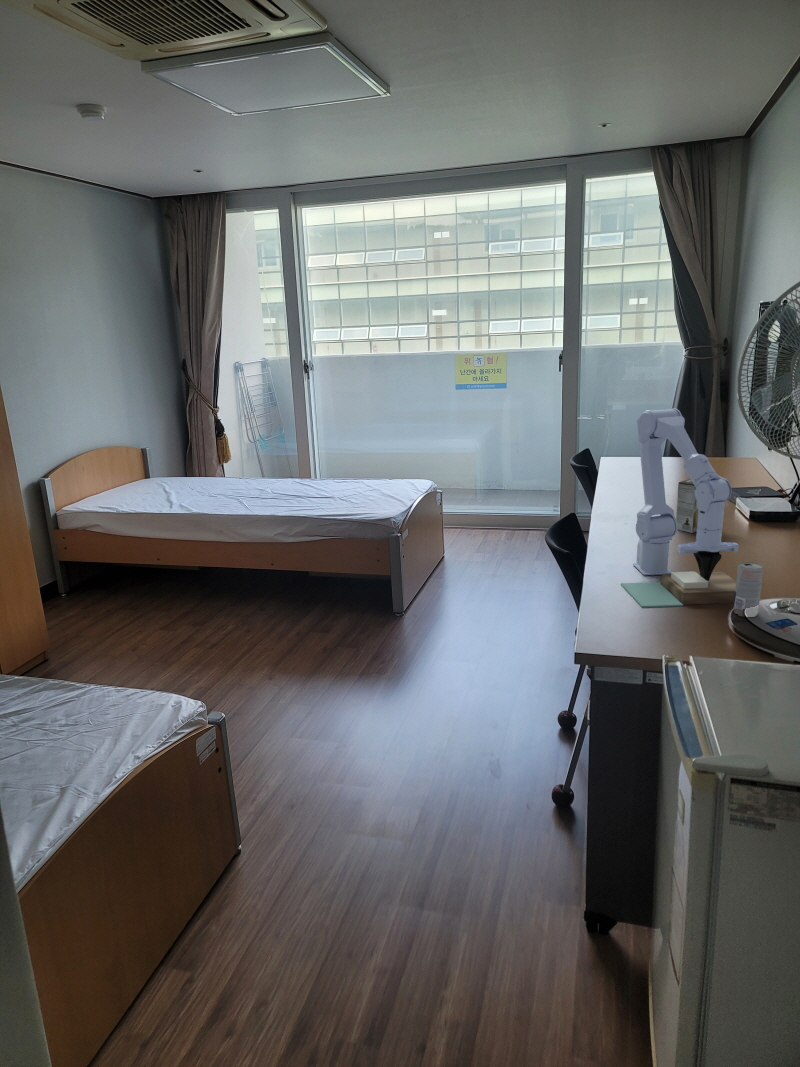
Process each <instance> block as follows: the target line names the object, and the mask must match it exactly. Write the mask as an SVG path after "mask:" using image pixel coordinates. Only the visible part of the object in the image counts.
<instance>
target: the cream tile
mask: <svg viewBox="0 0 800 1067" xmlns="http://www.w3.org/2000/svg"><path fill="white" fill-rule="evenodd" d="M697 573H698V572H697V571H691V570H690V571H672V572H671V578H672V579H673V580H674V581H675V582H677V583H678V584H679V585H680V586H681V587H682V588H684V589H686V588H708V581H706V580H705V579H704V578H703V577H701V576H700V575H699V574H697Z"/></svg>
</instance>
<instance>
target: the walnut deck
mask: <svg viewBox="0 0 800 1067" xmlns="http://www.w3.org/2000/svg"><path fill="white" fill-rule="evenodd" d="M696 573H697V574H699V575H700V572H696ZM660 580H661V581H660V584H661V585H662V586H663V587H665V588H666V589H667V590H668V591H669V592H670V593H671V594H672V595H673V596H674V597H675V598H676V599H678V600H679V601H680V602H681V603H682V604H683V605H707V604H734V596H735V587H736V580H735V579H733V578H732V577H731V576H730V575H728V574H727V573H725V572H724V571H713V572H712V574H711V576H710V579H709V581H708V588H686V589H684V588H682V587H681V586H680V585H679V584H678V583H677V582H675V581H674V580H673V579H672V578H671V574H662V575H661V578H660Z"/></svg>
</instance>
